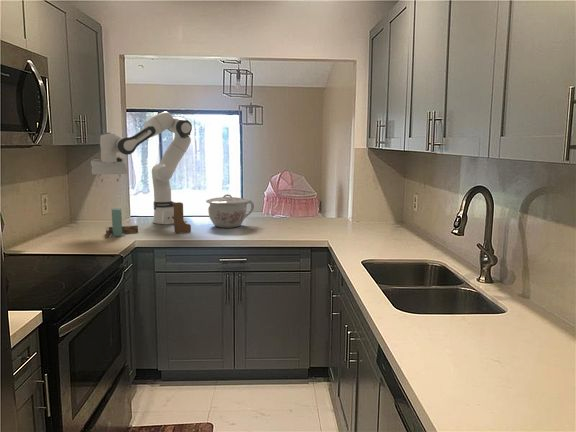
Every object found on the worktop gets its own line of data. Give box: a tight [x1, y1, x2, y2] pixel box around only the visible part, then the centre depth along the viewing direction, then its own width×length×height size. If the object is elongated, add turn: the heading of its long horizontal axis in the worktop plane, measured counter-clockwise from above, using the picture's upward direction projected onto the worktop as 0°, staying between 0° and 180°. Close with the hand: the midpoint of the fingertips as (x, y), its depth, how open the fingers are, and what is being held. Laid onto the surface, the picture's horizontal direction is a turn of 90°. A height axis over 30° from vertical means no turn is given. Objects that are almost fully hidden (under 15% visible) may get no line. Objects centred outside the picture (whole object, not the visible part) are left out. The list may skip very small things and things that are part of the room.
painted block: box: [111, 208, 123, 237], centre depth 279 cm, size 5×5×15 cm
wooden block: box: [173, 201, 192, 234], centre depth 290 cm, size 9×4×18 cm, turn 123°
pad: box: [109, 233, 126, 238], centre depth 280 cm, size 8×8×1 cm
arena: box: [105, 225, 139, 239], centre depth 282 cm, size 18×13×4 cm
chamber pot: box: [205, 194, 255, 229], centre depth 312 cm, size 28×28×21 cm
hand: (109, 181), depth 298 cm, fingers open, 8 cm apart
